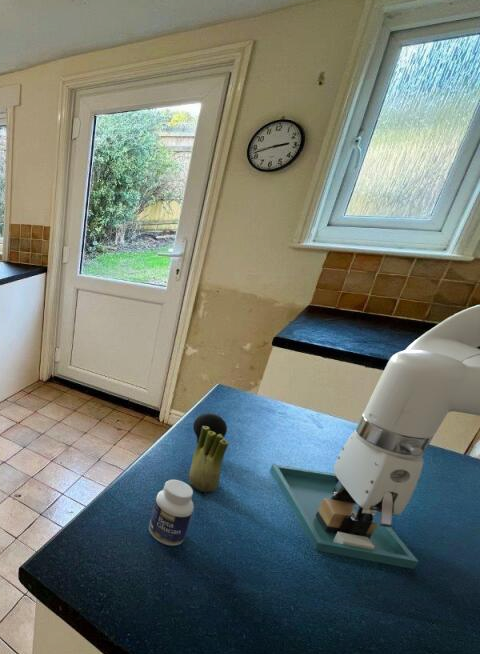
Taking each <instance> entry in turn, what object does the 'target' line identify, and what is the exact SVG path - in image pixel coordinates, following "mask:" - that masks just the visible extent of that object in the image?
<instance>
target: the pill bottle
mask: <svg viewBox="0 0 480 654" xmlns="http://www.w3.org/2000/svg"><path fill="white" fill-rule="evenodd" d="M193 496H194V491H193V487H192V486H191V485H190V484H188V483H186V482H184V481H182V480H179V479H169V480H167V481H165V483H164V486H163V489H162V490H160V491H158V493H157V495H156V497H155V501H154V505H153V508H152V512H151V516H150V520H149V524H148V530H149V533H150V535H151V536H152V537H153V538H154V539H155V540H156V541H157V542H159V543H161V544H163V545H167V546H173V547H174V546H179V545H181V544H182V543H184V540H185V538H186V534H187V531H188V528H189V525H190V521H191V519H192V516H193V513H194V509H195V506H194V502H193V500H192V499H193Z"/></svg>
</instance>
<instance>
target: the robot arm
mask: <svg viewBox="0 0 480 654" xmlns="http://www.w3.org/2000/svg"><path fill="white" fill-rule="evenodd" d="M479 347H480V304H477V305H475V306H471V307H468V308H466V309H463V310H461V311H459V312H456V313H454V314H453V315H450V316H449V317H447V318H445V319H444V320H443V321H441V322H440V323H438V324H436V325H435V326H434V327H431V329H429V330H427V331H425V332H424V333H423V334H422V335H420V336H419V337H418V338H417V339H415V340H413V342H412V343H410V344H409V345H408V346H407V347H406V348H405V349H404V350H401V351H398V352H396V353H394V354H393V355H392V356H390V358H389V359H388V362H387V363H386V366H385V367H384V370H383V371H382V373H381V375H380V378H379V380H378V382H377V384H376V386H375V388H374V390H373V392H372V394H371V396H370V398H369V400H368V402H367V405H366V406H365V408H364V411H363V413H362V415H361V417H360V419H359V421H358V423H357V425H356V428H355V429H354V431H353V432H352V433H351V435H350V436H349V438H348V439H347V440H346V442H345V444H344V445H343V447H342V449H341V450H340V452H339V455H338V456H337V458H336V461H335V463H334V465H333V473H334V474H335V475H336V478H335V480H336V486H335V487H334V488H333V494H334V495H336V496H332V498H331V499H332V500H338V501H344V502H350V503H355V504H354V507H353V509H352V512H351V515H346V517H345V519H344V521H343V523H342V524H341V526H340V528H339V530H338V532H342V533H347V534H353V535H358V536H365V534H366V533H367V531H368V529H369V527H370V526H371V524H376V525H380V526H385V527H391V528H392V523H393V522H392V521H393V516H400V515H402V513H403V512H404V510H405V509H406V507H407V506H408V504H409V502H410V500H411V498H412V496H413V494H414V491H415V490H416V487H417V485H418V482H419V479H420V477H421V474H422V470H423V467H424V458H423V455H424V454H425V452H426V450H427V448H428V447H429V445H430V443H431V442H432V440H433V438H434V437H435V435H436V434H437V432H438V430H439V428H440V427H441V425H442V423H443V421H444V420H445V418H446V417H447V415H448V414H449V413H451V412H456V413H461V414H467V415H472V416H473V415H474V416H478V417H479V416H480V348H479ZM363 509H365V510H369V509H371V510H370V512H369V513H362V511H363Z"/></svg>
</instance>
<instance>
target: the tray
mask: <svg viewBox="0 0 480 654" xmlns="http://www.w3.org/2000/svg"><path fill="white" fill-rule="evenodd" d="M269 471H270V473H271V475H272V478H273V479H274V480H275V482H276V484H277V486H278V488H279V489H280V491H281V493H282V494H283V496H284V498H285V500H286V501H287V503H288V506H289V507H290V509H291V511H292V512H293V514H294V516H295V517H296V520H297V521H298V523H299V524H300V527H301V529H302V530H303V531H304V533H305V535H306V538H307V539H308V540H309V542H310V544H311V546H312V548H313V549H314V550H315V551H316V552H317V551H318V552H323V553H328V554H334V555H339V556H344V557H350V558H355V559H360V560H364V561H371V562H376V563H380V564H385V565H390V566H397V567H401V568H405V569H406V568H407V569H412V570H414V569H415V568H416V567H417V566H418V564H419V562H420V561H419V560H418V559H417V557H416V556H415V555H414V554H413V552H411V549H409V548H408V547H407V545H406V544H405V543H404V542H403V540H402V539H401V538H400V537H399V535H398V534H397V533H396V532H395V530H394V529H393V528H392V526H391V527H385V526H380V525H377V527H376V529H375V530H374V532H373V534H372V535H371V537H370V541H371V542H372V544H373V545H374V547H375V548H374V550H372V549H367V548H362V547H356V546H351V545H345V544H340V543H335V542H334V541H333V540H334V538H335V536H336V534H335V533H330V532H325V530H324V529H323V527H322V526H321V524H320V522H319V521H318V519H317V518H316V514H317V512H318V509H319V507H320V505H321V503H322V501H323V499H324V498H326V499H331V498H332V496H336V495H334V494H333V488H334V487H335V486H336V480H335V478H336V475H335V473H334V472H325V471H320V470H313V469H307V468H300V467H294V466H287V465H281V464H273V463H272V464H271V467H270V469H269ZM370 510H371V509H370Z"/></svg>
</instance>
